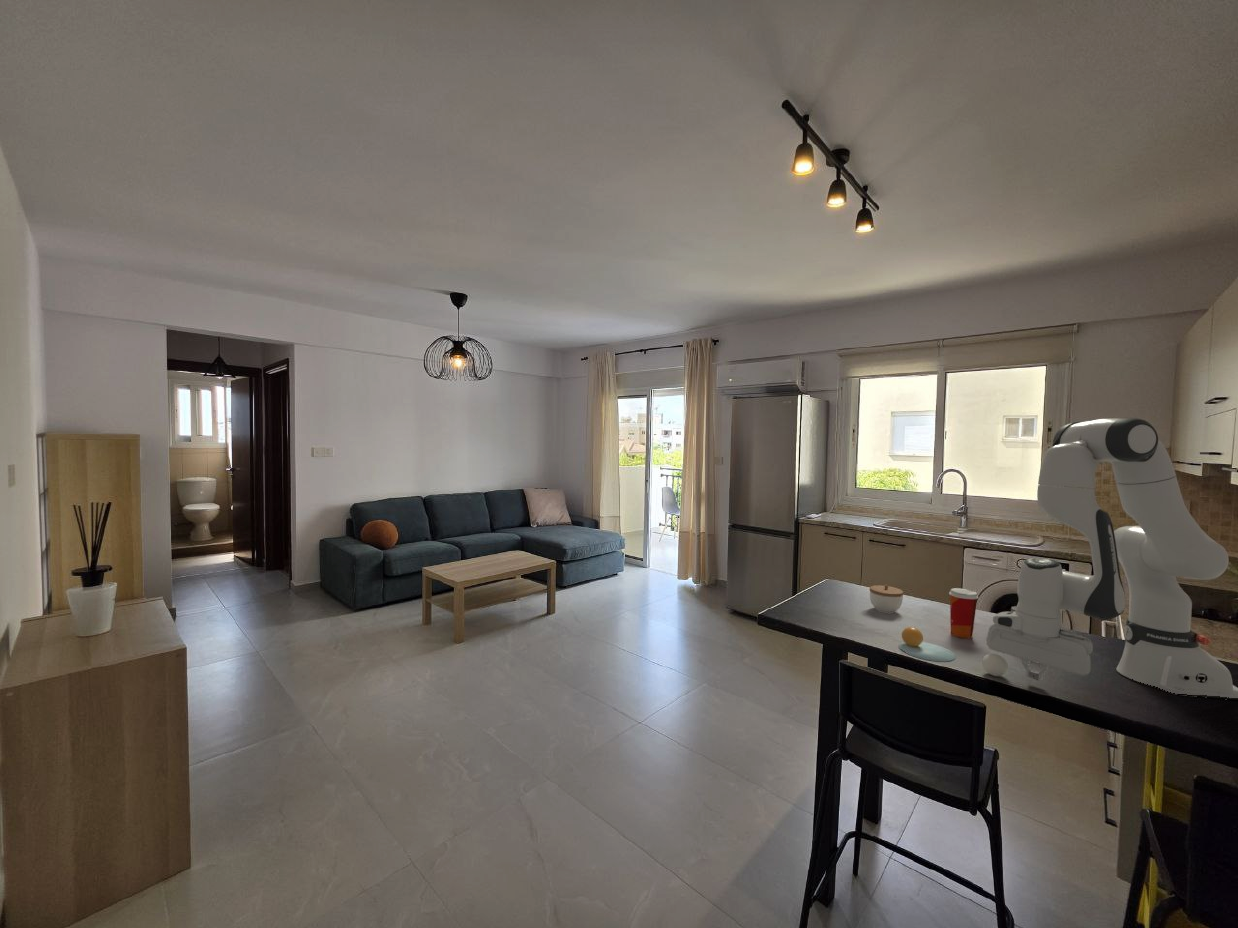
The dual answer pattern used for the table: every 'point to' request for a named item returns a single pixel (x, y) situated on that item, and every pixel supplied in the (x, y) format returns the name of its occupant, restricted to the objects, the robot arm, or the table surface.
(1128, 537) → the robot arm
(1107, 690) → the table surface
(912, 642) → the object ball
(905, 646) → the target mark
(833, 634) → the table surface
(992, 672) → the cue ball
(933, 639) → the table surface
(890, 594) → the lidded jar
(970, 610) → the paper cup
